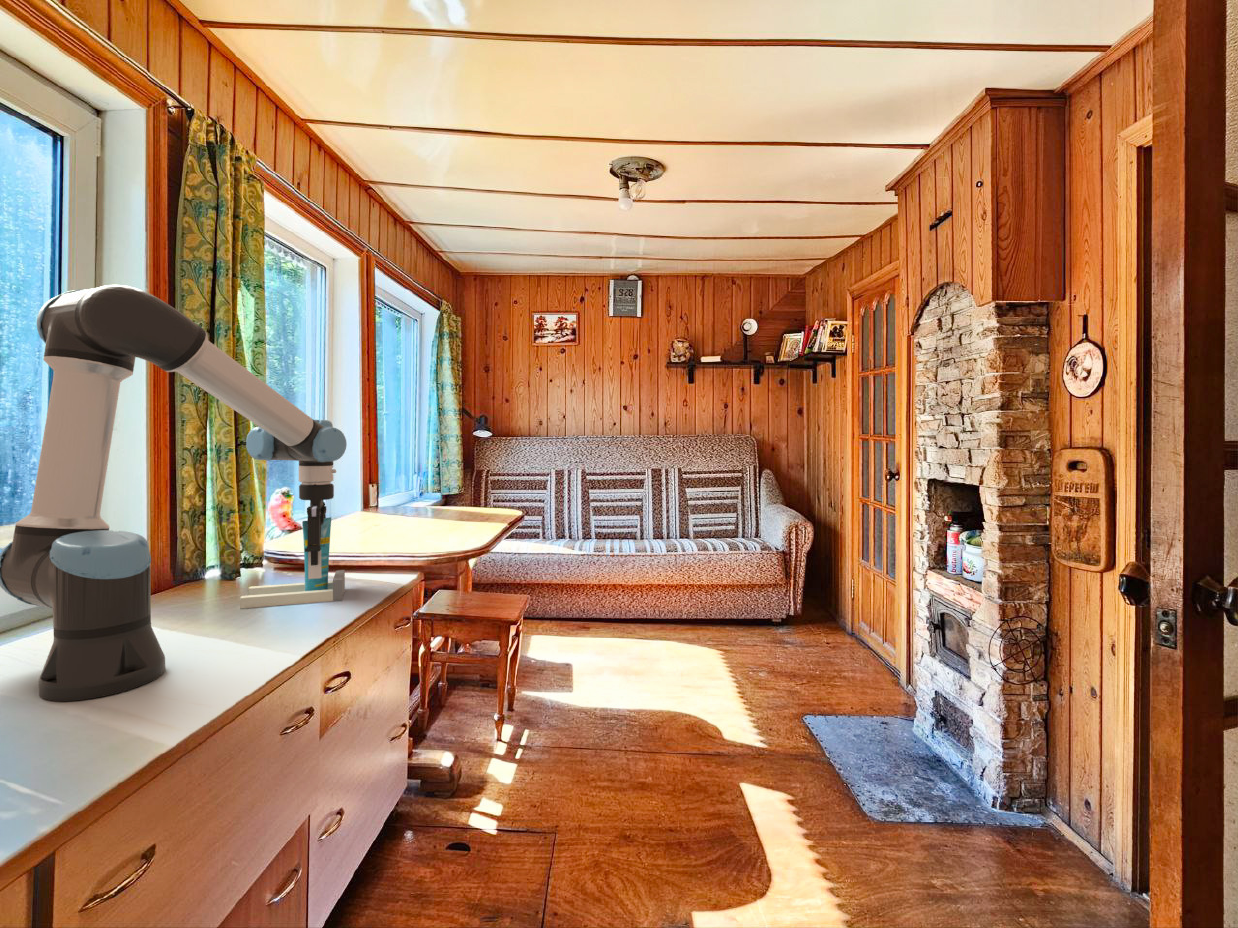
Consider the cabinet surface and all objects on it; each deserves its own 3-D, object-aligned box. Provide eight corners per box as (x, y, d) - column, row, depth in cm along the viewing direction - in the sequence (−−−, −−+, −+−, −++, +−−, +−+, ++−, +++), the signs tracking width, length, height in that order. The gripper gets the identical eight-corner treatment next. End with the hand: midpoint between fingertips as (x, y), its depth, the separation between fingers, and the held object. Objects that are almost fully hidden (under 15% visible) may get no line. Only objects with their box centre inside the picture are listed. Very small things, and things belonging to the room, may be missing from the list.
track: (342, 600, 141) (342, 579, 141) (240, 608, 133) (239, 586, 133) (344, 589, 151) (344, 569, 151) (250, 596, 144) (250, 576, 143)
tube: (310, 601, 140) (310, 521, 139) (296, 598, 142) (296, 519, 141) (336, 594, 147) (336, 517, 146) (322, 591, 148) (322, 516, 148)
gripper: (329, 486, 134) (330, 582, 135) (336, 479, 155) (337, 562, 156) (292, 487, 131) (293, 585, 132) (304, 480, 152) (305, 564, 153)
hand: (317, 573), depth 144 cm, fingers open, 10 cm apart
